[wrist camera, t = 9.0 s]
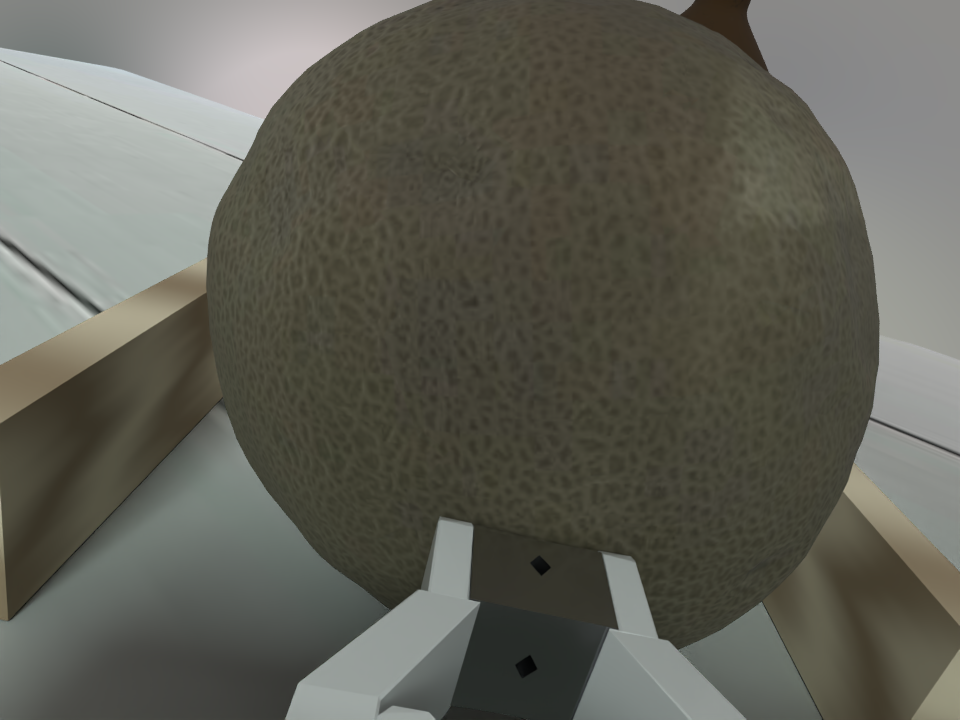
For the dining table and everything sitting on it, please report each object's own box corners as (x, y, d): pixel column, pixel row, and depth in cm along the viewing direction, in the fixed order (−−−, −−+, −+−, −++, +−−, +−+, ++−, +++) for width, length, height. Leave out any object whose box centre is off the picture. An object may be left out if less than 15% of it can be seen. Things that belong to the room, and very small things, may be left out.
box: (920, 803, 15) (1035, 650, 13) (-62, 607, 14) (-84, 408, 12) (695, 423, 33) (731, 335, 32) (257, 323, 32) (267, 225, 30)
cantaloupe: (502, 433, 28) (607, 58, 22) (809, 694, 18) (1138, 133, 12) (136, 492, 19) (157, -103, 13) (337, 1068, 9) (737, -294, 3)
